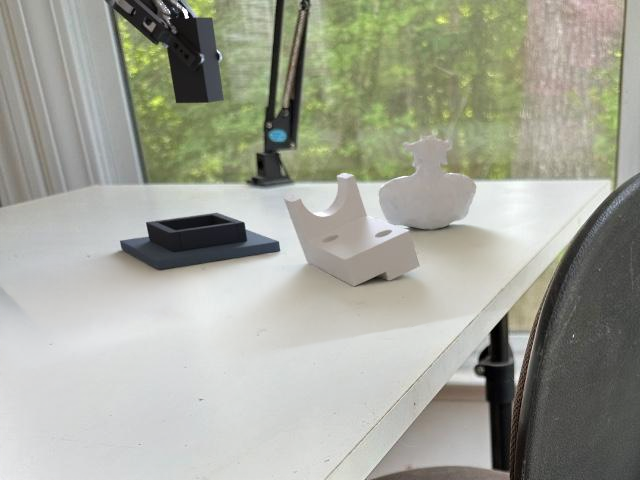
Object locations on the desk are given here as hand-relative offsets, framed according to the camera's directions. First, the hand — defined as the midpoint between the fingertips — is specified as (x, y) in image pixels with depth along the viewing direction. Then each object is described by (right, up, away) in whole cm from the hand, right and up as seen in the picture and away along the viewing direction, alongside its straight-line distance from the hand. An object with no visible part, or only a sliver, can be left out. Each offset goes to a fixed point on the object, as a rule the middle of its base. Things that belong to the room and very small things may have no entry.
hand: (208, 64), depth 112 cm
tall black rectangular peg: (-2, -3, +3) cm, 4 cm away
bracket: (+21, -34, -21) cm, 44 cm away
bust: (+28, -22, -3) cm, 36 cm away
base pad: (+2, -27, -9) cm, 29 cm away
